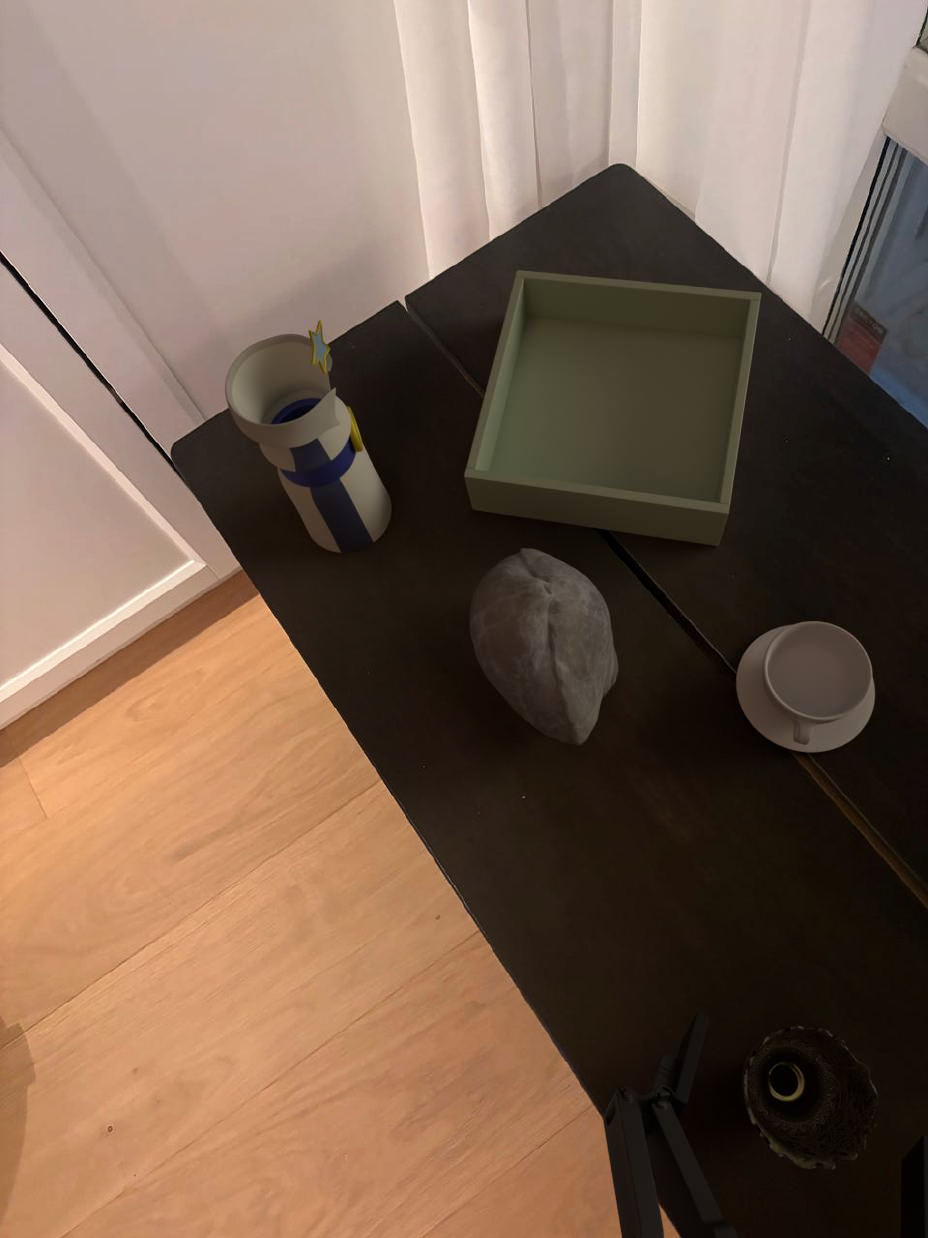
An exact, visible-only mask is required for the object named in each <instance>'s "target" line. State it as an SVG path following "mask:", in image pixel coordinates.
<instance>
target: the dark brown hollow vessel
mask: <svg viewBox="0 0 928 1238" xmlns="http://www.w3.org/2000/svg"><path fill="white" fill-rule="evenodd" d="M778 1068H786V1069H789V1070H790V1071H791V1072H792V1073H793V1074H794V1076H795V1078H796V1086H795V1089H793V1091H791V1092H789V1093H781V1092H779V1091H778V1090H777V1089H776V1088H775V1087H774V1085H773V1082H772V1076H773V1073H774V1071H775V1070H776V1069H778ZM871 1075H872V1074H871V1071H870V1069H869V1067H868V1066H867V1065H866V1064H865V1062H861V1061H860V1060H858V1059H857V1057H856V1056H855V1054H854V1052H853V1051H852V1050H851V1049H849V1048H848V1047H847V1046H846V1042H845V1040H843V1039H841V1038H840V1037H838V1036H834V1035H833V1034H832V1032H830V1031H829V1030H827V1029H824V1028H821V1027H814V1026H813V1027H812V1026H811V1027H809V1026H802V1025H791V1026H790V1027H786V1028H782V1029H779V1030H776V1031H773V1032H770V1033H769V1034H767V1035H765V1036H763V1037H762V1038H761V1039H760V1040H758V1041H757V1042H756V1043H755V1045H754V1046H752V1048H751V1049H750V1051H749V1052H748V1054H747V1056H746V1058H745V1061H744V1063H743V1067H742V1074H741V1089H742V1096H743V1100H744V1101H743V1102H744V1104H745V1108H746V1112H747V1115H748V1118H749V1120H750V1123H751V1124H752V1125H753V1126H754V1128H755V1129H756V1131H757V1133H758V1134H759V1136H760V1137H761V1138H762V1139H763V1140H764V1141H765V1142H766V1144H767V1145H768V1148H769V1149H770V1150H771V1151H772V1152H773V1153H774V1154H776V1155H777V1156H779V1157H782V1158H784V1159H785V1160H787V1161H788V1162H789V1163H790V1164H793V1165H795V1166H796V1167H797V1168H798V1167H799V1168H801V1169H804V1170H810V1169H811V1170H812V1169H815V1168H818V1167H821V1168H823V1169H824V1170H827V1171H834V1170H835V1169H836V1162H839V1163H844V1164H848V1163H851V1162H853V1161H855V1160H856V1158H857V1157H858V1154H860V1153H861V1152H862V1151H864V1150H866V1148H867V1147H866V1146H867V1140H868V1133H872V1132H873V1130H874V1129H876V1127H877V1122H876V1120H875V1118H874V1115H875V1112H876V1110H877V1109H878V1105H879V1095H878V1091H877V1089H876V1087H875V1085H874V1082H873V1080H872V1079H871Z"/></svg>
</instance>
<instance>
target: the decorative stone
mask: <svg viewBox="0 0 928 1238" xmlns="http://www.w3.org/2000/svg"><path fill="white" fill-rule="evenodd" d="M469 608H470V609H469V622H468V623H469V625H468V626H469V632H470V633H469V634H470V638H471V642H472V645H473V649H474V653H475V657H476V659H477V662H478V664H479V666H480V668H481V669H482V671H483V674H484V675H485V677H486V678H487V680H488V681H489V683H491V685H492V686H493V687H494V688H495V689H496V690H497V692H498V693H499V695H501V696H502V697H503V698H504V700H506V702H507V703H508V704H509V706H510V707H511V708H512V709H513V710H514V711H515V712H516V713H517V714H519V715H520V716H521V718H522V719H524V720H525V721H526V722H527V723H528V724H530V725H531V726H532V727H534V729H536V730H538V731H539V732H541V733H542V734H544V735H545V736H548V737H549V738H551V739H557V740H558V741H559V742H560V743H563V744H571V745H576V746H578V747H579V746H581V745H583V744H584V743H585V742H586V741H587V739H588V738H589V736H590V735H591V732H592V731H593V729H594V728H595V726H596V723H597V721H598V719H599V715H600V714H599V713H600V709H601V704H602V700H603V698H605V697H606V696H607V694H608V693H609V691H610V690H611V688H612V687H613V686H614V685H615V683H616V682H617V681H616V680H617V676H618V673H619V662H618V657H617V653H616V649H615V646H614V637H613V630H612V623H611V616H610V615H611V614H610V611H609V607H608V605H607V603H606V601H605V599H604V597H603V595H602V593H601V592H600V590H599V589H598V588H597V587H596V586H595V584H594V583H593V582H592V581H591V580H590V579H589V578H588V576H586V575H585V574H583V573H582V572H580V570H578V569H576V568H575V567H573V566H571V565H569V564H567V563H566V562H564V561H562V560H560V559H558V558H556V557H553V556H552V555H551V554H548V553H545V552H543V551H541V550H539V549H535V548H526V547H525V548H524V547H522V548H521V549H519V552H517V553H515V554H512V555H509V556H507V557H505V558H503V559H502V560H501V561H499V562H498V563H496V565H495V566H494V567H492V568H491V569H489V570H488V571H487V572H486V573H485V575H484V576H483V577H482V579H481V580H480V581H479V583H478V585H477V587H476V588H475V591H474V593H473V595H472V599H471V604H470V607H469Z"/></svg>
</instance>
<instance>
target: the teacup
mask: <svg viewBox="0 0 928 1238" xmlns="http://www.w3.org/2000/svg"><path fill="white" fill-rule="evenodd" d="M735 686H736V688H735V689H736V694H737V698H738V702H739V705H740V708H741V709H742V711H743V713H744V715H745V717H746V718H747V720H748V721H749V722H750V724H751V725H752V726H753V728H754V729H756V730H757V731H758V732H759V733H760V734H761V735H762V736H763V737H765V739H767V740H769V741H771V742H772V743H774V744H776V745H778V746H780V747H783V748H785V749H788V750H792V751H797V752H802V753H821V752H827V751H828V752H829V751H831V750H834V749H837V748H840V747H843V746H844V745H845V744H847V743H849V742H851V741H852V740H853V739H855V738H856V737H857V736H858V735H859V734H860V733H861V732H862V731H863V729H864V728H865V727H866V726H867V724H868V723H869V721H870V718H871V716H872V713H873V711H874V707H875V699H876V689H875V688H876V687H875V682H874V678H873V667H872V663H871V660H870V656H869V655H868V653H867V651H866V649H865V648H864V646H863V645H862V644H861V642H860V641H859V640H858V639H857V638H856V637H855V636H854V635H852V634H851V633H850V632H849V631H847V630H846V629H843V628H842V627H840V626H838V625H835V624H833V623H830V622H824V621H816V620H815V621H814V620H808V621H801V622H798V623H794V624H787V625H783V626H779V627H776V628H773V629H771V630H768V631H766V632H765V633H763V634H762V635H760V636H759V637H757V638H756V639H755V640H754V641H753V642H752V643H750V645H749V646H748V647H747V649H745V651H744V653H743V654H742V657H741V659H740V662H739V664H738V667H737V671H736V679H735Z"/></svg>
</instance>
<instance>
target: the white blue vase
mask: <svg viewBox="0 0 928 1238" xmlns="http://www.w3.org/2000/svg"><path fill="white" fill-rule="evenodd" d="M308 336H309V337H308ZM308 336H305V335H302V334H297V333H284V334H277V335H275V336H274V335H273V336H271V337H268V338H265V339H262V340H259V341H257V342H255V343H253V344H251V345H249V346H248V347H246V348H245V349H244V350H242V351H241V352H240V353H239V354H238V356H237V357H236V358H235V359H234V360H233V362H232V364H231V365H230V367H229V369H228V371H227V374H226V378H225V384H224V393H225V399H226V403H227V407H228V410H229V412H230V414H231V417H232V419H233V421H234V423H235V424H236V426H237V427H238V428H239V430H240V432H242V433H243V434H244V435H245V436H246V437H248V438H249V439H250V440H252V441H254V442H256V443H258V445H259V448H260V451H261V452H262V454H263V456H264V457H265V458H266V460H267V461H268V462H270V463H271V464H272V465H273V466H275V467H276V469H277V475H278V477H279V480H280V482H281V485H282V487H283V489H284V491H285V492H286V494H287V495H288V497H289V499H290V501H291V502H292V504H293V506H294V507H295V509H296V510H297V512H298V514H299V516H300V518H301V520H302V522H303V524H304V526H305V528H306V530H307V532H308V534H309V535H310V537H311V539H312V540H313V541H314V542H315V543H316V544H317V545H318V546H319V547H321V548H323V549H324V550H327V551H330V552H334V553H340V554H346V553H347V554H348V553H354V552H357V551H361V550H364V549H365V548H368V547H369V546H371V545H372V544H374V543H375V542H376V541H377V540H379V539H380V538H381V536H382V535H383V534H384V533H385V531H386V530H387V528H388V526H389V524H390V521H391V519H392V511H393V510H392V509H393V507H392V500H391V497H390V494H389V493H388V491H387V489H386V487H385V485H384V483H383V482H382V480H381V478H380V476H379V474H378V472H377V470H376V468H375V467H374V464H373V462H372V460H371V458H370V455H369V453H368V451H367V449H366V447H365V446H364V443H363V439H362V436H361V433H360V430H359V427H358V424H357V421H356V417H355V415H354V412H353V411H352V408H351V407H350V406H348V405H346V404H345V403H344V402H343V401H342V400H341V399H340V398H339V397H338V396H337V395H336V392H337V388H336V387H333V388H332V389H331V385H330V383H331V382H330V378H329V377H330V376H329V372H331V370H332V366H333V358H332V357H331V355H330V351H331V347H329V345H328V344H327V343H326V342H325V340H324V331H323V322H322V320H321V319H320V320H318V321H317V325H316V329H315V331H313V330H311V329H308Z"/></svg>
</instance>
